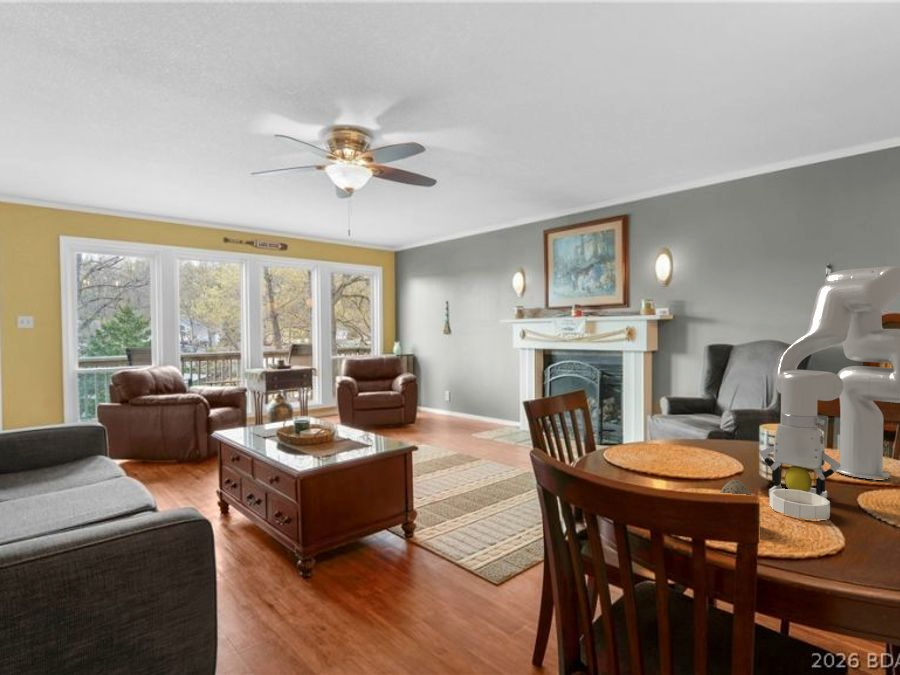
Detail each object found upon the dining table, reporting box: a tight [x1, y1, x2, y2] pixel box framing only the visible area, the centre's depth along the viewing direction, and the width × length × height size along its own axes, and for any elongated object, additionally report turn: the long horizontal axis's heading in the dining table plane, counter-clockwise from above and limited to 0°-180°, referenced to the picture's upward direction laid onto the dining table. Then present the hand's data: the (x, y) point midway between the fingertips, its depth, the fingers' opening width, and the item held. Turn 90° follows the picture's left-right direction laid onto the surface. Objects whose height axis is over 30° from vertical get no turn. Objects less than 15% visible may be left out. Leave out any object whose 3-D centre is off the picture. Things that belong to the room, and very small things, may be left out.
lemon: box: [784, 466, 813, 492], centre depth 121 cm, size 6×6×8 cm
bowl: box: [769, 488, 831, 521], centre depth 111 cm, size 11×11×4 cm
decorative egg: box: [719, 479, 753, 496], centre depth 104 cm, size 7×7×10 cm
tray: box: [768, 484, 828, 499], centre depth 121 cm, size 10×10×2 cm
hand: (797, 489), depth 121 cm, fingers open, 8 cm apart
